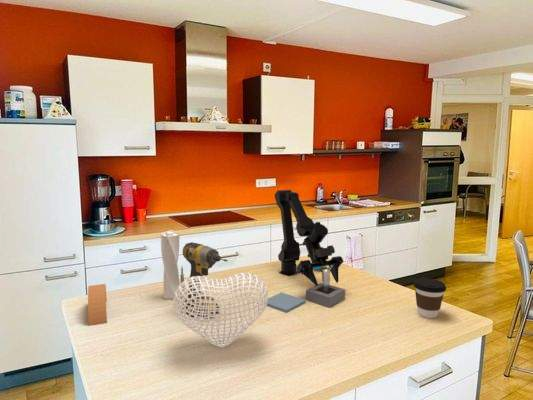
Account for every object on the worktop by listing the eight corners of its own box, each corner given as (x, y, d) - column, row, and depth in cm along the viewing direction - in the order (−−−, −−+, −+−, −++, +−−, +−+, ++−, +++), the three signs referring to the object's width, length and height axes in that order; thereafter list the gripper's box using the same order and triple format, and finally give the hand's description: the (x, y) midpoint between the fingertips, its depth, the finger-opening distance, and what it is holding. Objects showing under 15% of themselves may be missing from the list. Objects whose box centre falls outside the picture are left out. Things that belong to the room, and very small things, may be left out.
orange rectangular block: (88, 326, 133) (86, 298, 131) (90, 303, 151) (89, 278, 149) (107, 323, 135) (105, 295, 133) (107, 301, 153) (105, 276, 152)
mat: (261, 303, 151) (261, 301, 151) (281, 294, 160) (281, 292, 160) (286, 312, 143) (286, 310, 143) (305, 302, 152) (305, 300, 152)
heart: (261, 329, 131) (261, 264, 127) (273, 354, 116) (274, 281, 112) (174, 339, 124) (172, 271, 121) (175, 366, 109) (172, 289, 106)
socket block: (305, 299, 155) (305, 290, 154) (321, 291, 163) (321, 282, 162) (329, 307, 148) (330, 297, 147) (344, 299, 156) (345, 289, 155)
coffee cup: (447, 322, 136) (450, 289, 134) (414, 319, 138) (416, 287, 136) (440, 309, 146) (442, 278, 145) (409, 307, 149) (411, 276, 147)
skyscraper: (180, 301, 153) (178, 231, 149) (159, 301, 153) (157, 231, 149) (185, 293, 162) (183, 226, 157) (165, 293, 162) (163, 226, 157)
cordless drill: (216, 327, 132) (215, 254, 128) (176, 311, 144) (174, 244, 140) (234, 317, 139) (233, 248, 135) (195, 303, 151) (193, 239, 147)
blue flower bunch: (308, 262, 196) (323, 249, 195) (316, 270, 198) (331, 256, 197) (313, 273, 186) (329, 258, 184) (321, 280, 187) (337, 266, 186)
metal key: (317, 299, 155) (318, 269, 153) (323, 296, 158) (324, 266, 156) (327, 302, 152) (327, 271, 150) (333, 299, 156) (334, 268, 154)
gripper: (300, 240, 152) (313, 277, 144) (341, 236, 159) (356, 271, 150) (291, 255, 160) (303, 290, 152) (331, 250, 167) (344, 284, 159)
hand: (327, 283), depth 153 cm, fingers open, 9 cm apart
